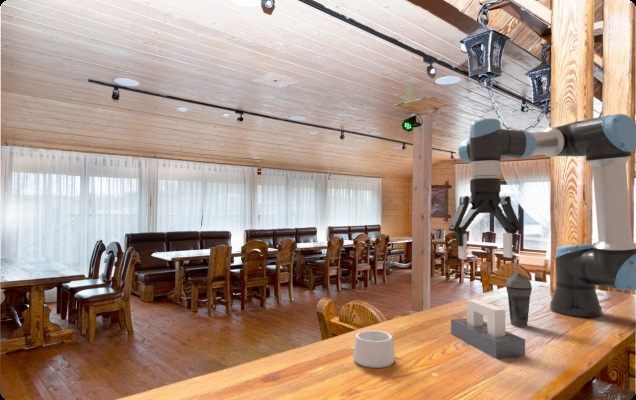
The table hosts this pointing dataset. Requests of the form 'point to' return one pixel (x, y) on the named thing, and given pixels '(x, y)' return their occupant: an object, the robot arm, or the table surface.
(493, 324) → the white arch
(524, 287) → the beverage cup
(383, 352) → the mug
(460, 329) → the cinder block
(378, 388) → the table surface
